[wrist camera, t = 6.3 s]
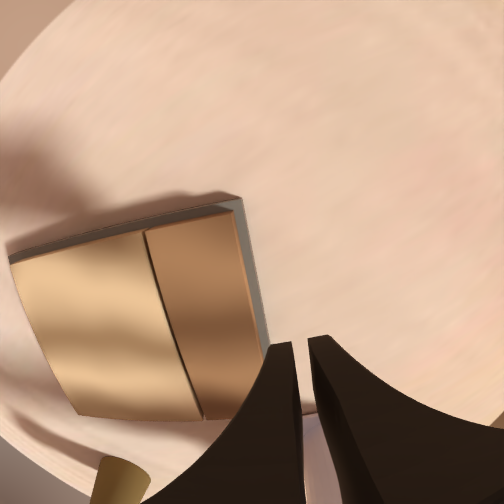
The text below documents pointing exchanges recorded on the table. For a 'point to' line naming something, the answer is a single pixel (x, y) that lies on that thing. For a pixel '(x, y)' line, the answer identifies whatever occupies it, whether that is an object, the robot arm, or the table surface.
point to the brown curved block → (209, 308)
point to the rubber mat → (169, 218)
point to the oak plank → (107, 330)
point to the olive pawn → (119, 482)
